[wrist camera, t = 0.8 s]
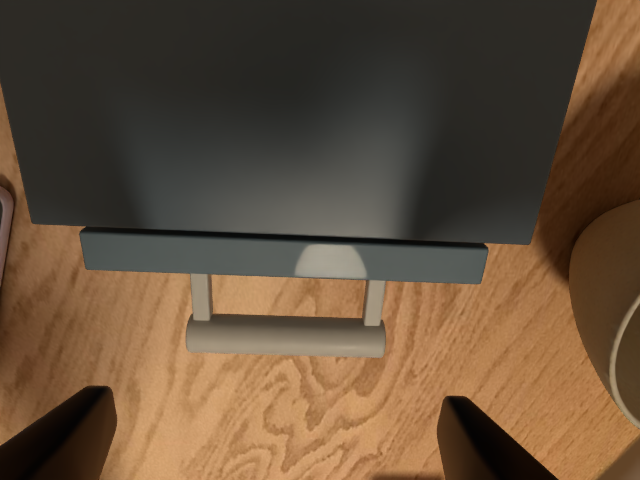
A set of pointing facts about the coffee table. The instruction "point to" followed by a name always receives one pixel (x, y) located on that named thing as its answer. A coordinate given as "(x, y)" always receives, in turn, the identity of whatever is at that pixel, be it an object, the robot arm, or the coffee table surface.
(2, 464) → the robot arm
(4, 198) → the smartphone
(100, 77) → the cabinet
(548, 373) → the coffee table surface
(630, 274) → the bowl
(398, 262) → the drawer
